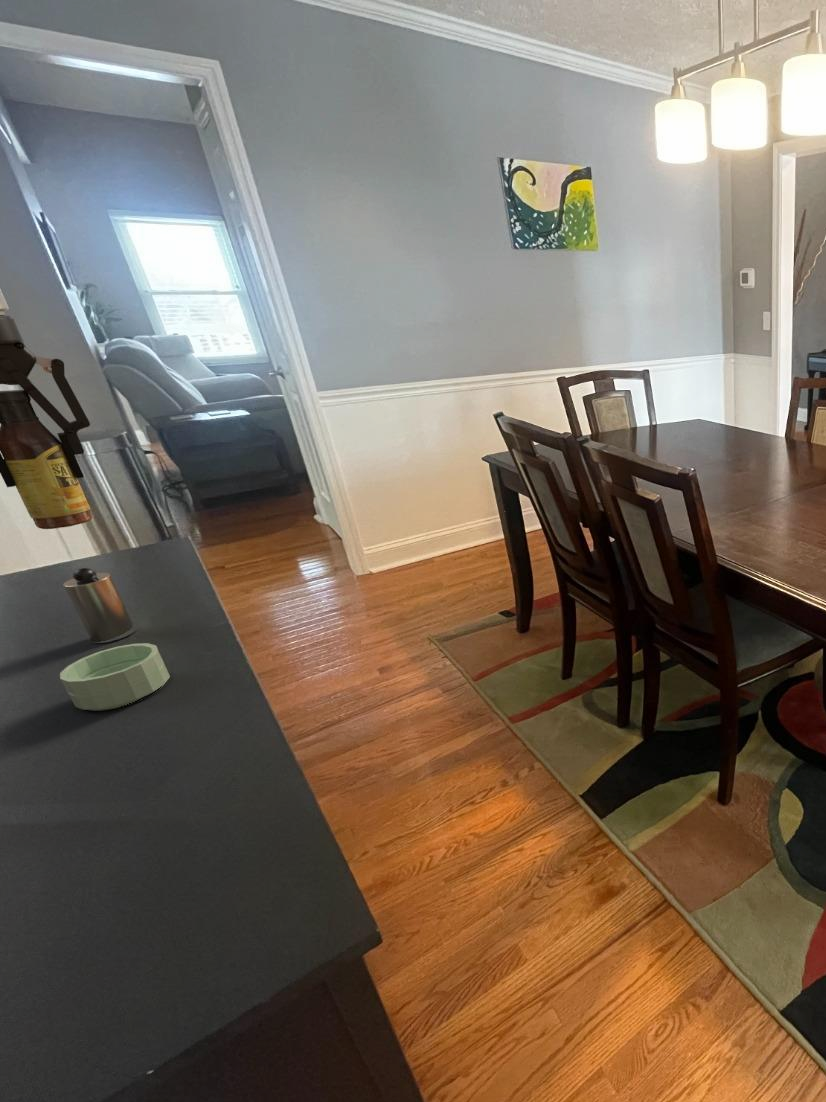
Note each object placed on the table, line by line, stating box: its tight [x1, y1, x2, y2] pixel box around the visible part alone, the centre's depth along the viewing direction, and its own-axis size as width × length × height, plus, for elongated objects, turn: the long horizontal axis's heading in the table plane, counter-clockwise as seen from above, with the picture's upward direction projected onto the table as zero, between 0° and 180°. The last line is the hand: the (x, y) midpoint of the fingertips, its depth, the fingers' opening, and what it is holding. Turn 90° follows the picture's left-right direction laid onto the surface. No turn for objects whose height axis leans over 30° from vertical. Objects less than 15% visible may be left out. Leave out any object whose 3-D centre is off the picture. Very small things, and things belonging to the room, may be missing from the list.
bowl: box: [59, 642, 171, 712], centre depth 80 cm, size 9×9×5 cm
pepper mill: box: [62, 567, 134, 643], centre depth 93 cm, size 5×5×12 cm
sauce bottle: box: [0, 389, 93, 530], centre depth 88 cm, size 7×6×20 cm
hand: (46, 480), depth 89 cm, fingers closed on sauce bottle, 6 cm apart
